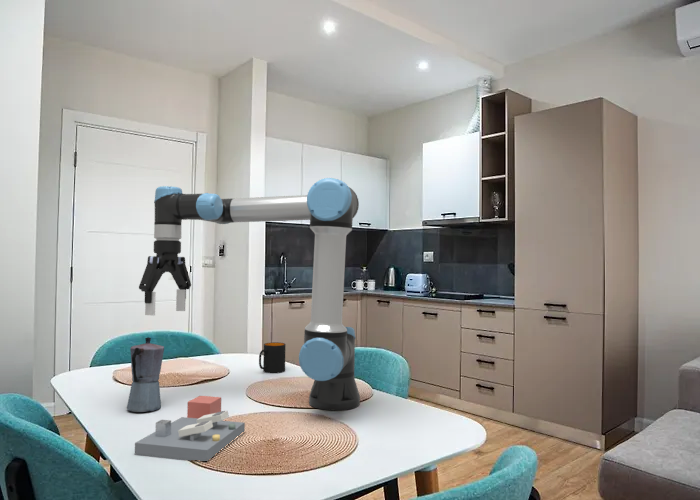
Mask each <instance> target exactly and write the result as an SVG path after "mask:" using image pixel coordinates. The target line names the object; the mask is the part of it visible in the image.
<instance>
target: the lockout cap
mask: <svg viewBox="0 0 700 500" xmlns="http://www.w3.org/2000/svg"><path fill="white" fill-rule="evenodd" d="M221 411H222V397H221V396H211V395H210V396H209V395H199V396H196V397H195V398H194V397H193V398H192V399H191V400H189V401H187V410H186V412H187V413H186V415H187V417H186V418H198V419H199V418H200V417H202V416H204V415H208V414H213V413H217V412H221Z"/></svg>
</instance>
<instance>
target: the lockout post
mask: <svg viewBox="0 0 700 500" xmlns="http://www.w3.org/2000/svg"><path fill="white" fill-rule="evenodd" d="M171 423H172V420H169V419H160V420H158V421H157V422H155V431H154V432H155V436H158V437H166V436H168V435H170V434H171Z"/></svg>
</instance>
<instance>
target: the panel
mask: <svg viewBox="0 0 700 500" xmlns="http://www.w3.org/2000/svg"><path fill="white" fill-rule="evenodd" d="M197 419H198V418H187V417H185V416H181V417H180V418H177V419H176V420H174V421H171V434H170V435H168V436H166V437H158V436H155V431H153V432H152V433H150V434H148V435H147V436H145V437H142V438H141V439H140V440H138V441H136V442H135V443H134V455H136V456H145V457H154V458H163V459H172V460H173V459H175V460H183V461H191V460H200V461H208V460H209V459H210V458H212V457H213V456H214V455H215V454H216V453H218V452H219V451H220V450H221V449H222V448H224V447H225V446H226V445H227V444H229V443H230V442H231V441H232V440H234V439H235V438H236V437H237V436H239V435H240V434H241V433H242V432H244V431H246V430H245V426H246V424H245V422H243V421H242V422H241V421H231V420H230V421H229V420H222V421H218V422H213V423H212V424H213V427H212V428H210V429H209V430H207V431H206V432H201V433H196V434H192V435H187V436H182V437H179V433H178V430H180V429H182V428H183V427H185V426H187V425H192V424H197V421H196V420H197ZM224 449H225V448H224ZM219 453H220V452H219ZM219 453H218V454H219ZM214 457H215V456H214ZM214 457H213V458H214ZM213 458H212V459H213ZM210 460H211V459H210ZM210 460H209V461H210ZM200 461H199V462H200ZM209 461H208V462H209Z"/></svg>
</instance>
